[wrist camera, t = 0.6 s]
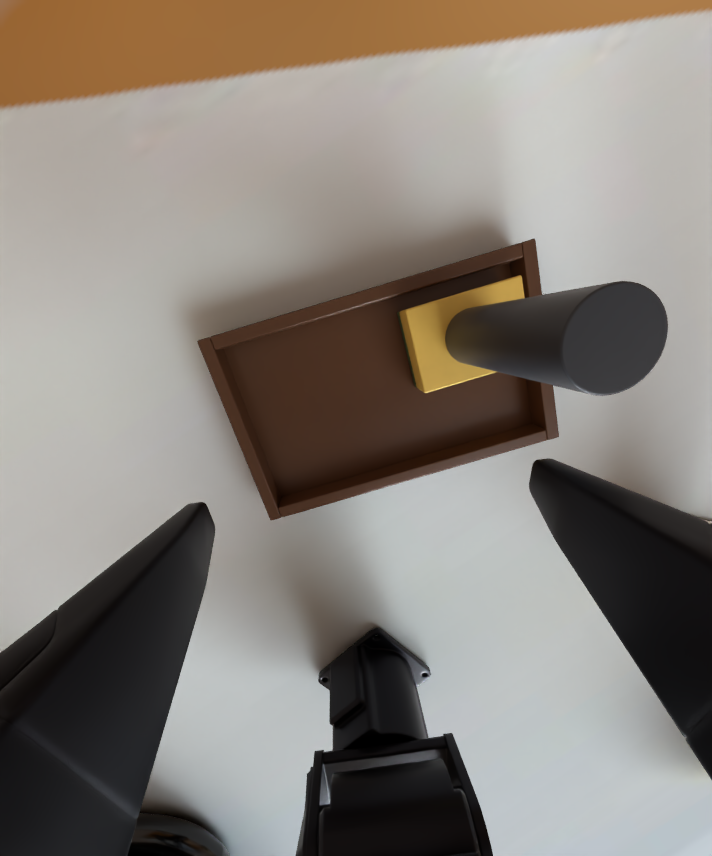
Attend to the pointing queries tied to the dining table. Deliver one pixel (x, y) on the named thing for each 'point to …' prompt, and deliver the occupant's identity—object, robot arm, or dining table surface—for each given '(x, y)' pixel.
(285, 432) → the tray
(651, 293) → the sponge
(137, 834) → the amphora vase
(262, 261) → the dining table surface
